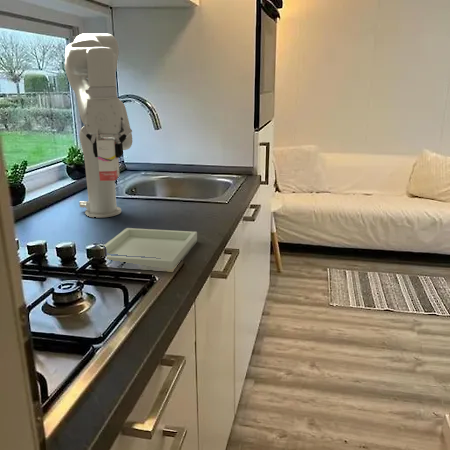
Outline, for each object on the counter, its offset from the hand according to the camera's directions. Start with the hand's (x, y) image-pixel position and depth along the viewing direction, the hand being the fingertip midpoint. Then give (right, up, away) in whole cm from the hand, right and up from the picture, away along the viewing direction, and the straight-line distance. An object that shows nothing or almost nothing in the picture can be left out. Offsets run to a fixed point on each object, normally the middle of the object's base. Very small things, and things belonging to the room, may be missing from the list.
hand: (108, 156), depth 141 cm
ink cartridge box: (0, -7, +2) cm, 7 cm away
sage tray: (+13, -28, -9) cm, 32 cm away
